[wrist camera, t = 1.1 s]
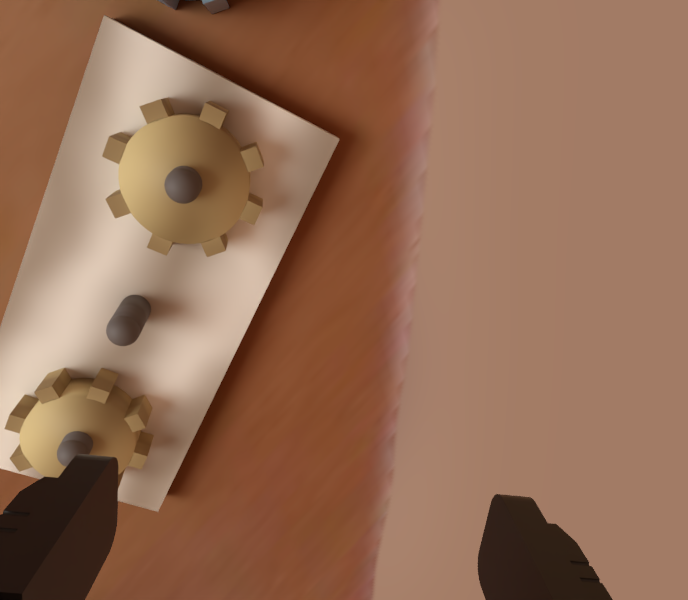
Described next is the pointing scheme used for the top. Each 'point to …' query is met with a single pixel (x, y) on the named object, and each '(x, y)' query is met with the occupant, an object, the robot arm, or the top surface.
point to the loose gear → (214, 3)
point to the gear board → (147, 262)
